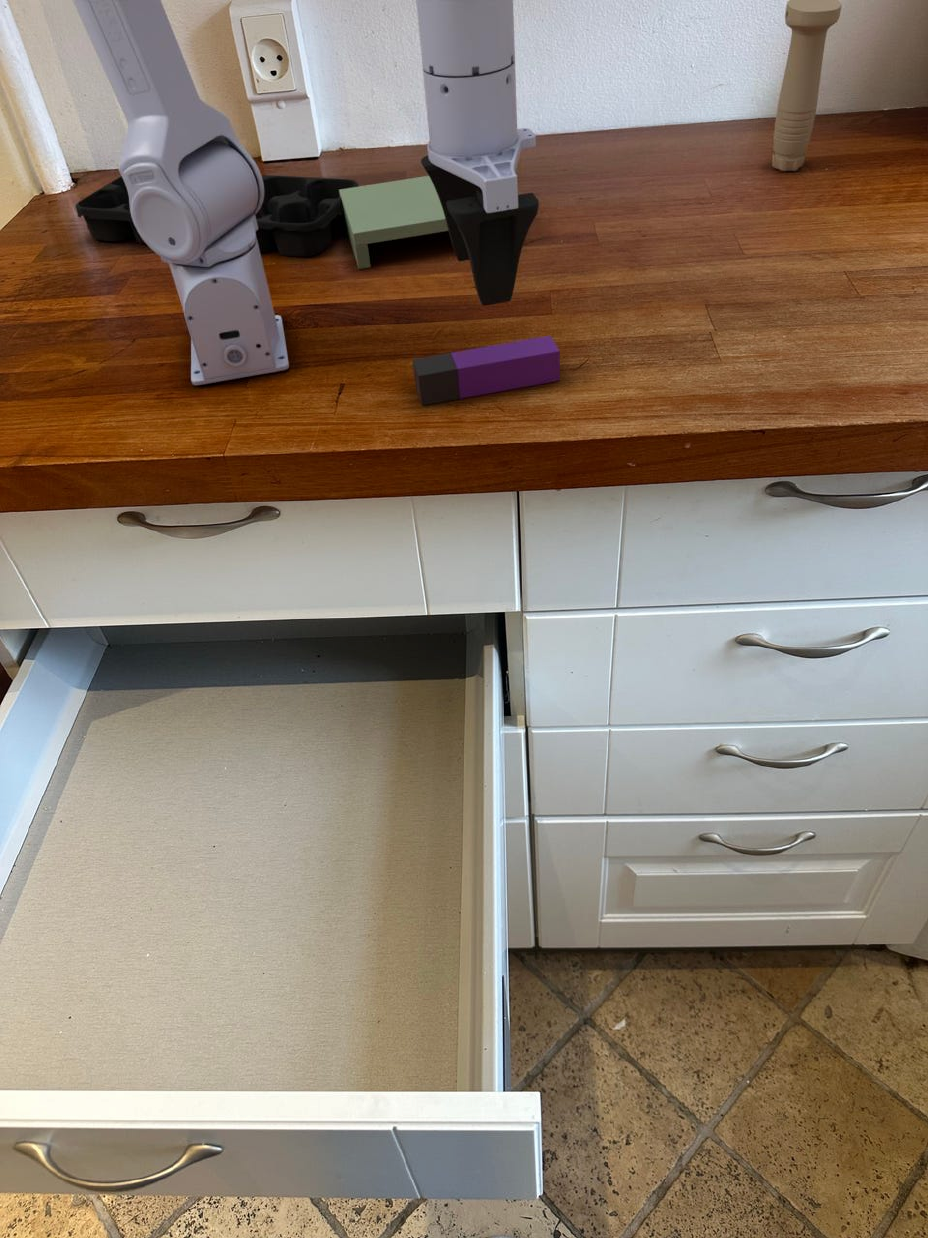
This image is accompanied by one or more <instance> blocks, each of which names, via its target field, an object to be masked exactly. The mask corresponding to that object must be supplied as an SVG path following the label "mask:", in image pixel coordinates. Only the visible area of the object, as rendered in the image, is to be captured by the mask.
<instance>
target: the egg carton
mask: <svg viewBox="0 0 928 1238" xmlns="http://www.w3.org/2000/svg"><path fill="white" fill-rule="evenodd" d="M261 176H262V179H263V183H264V199H263V203H262V206H261V208H260V210H259V211H258V212H257V213H256V214H255V216H256V221H257V225H258V230H257V231H256V232H255V233H256V239H257V241H258V246H259V250H260V254H262V253H265V252H266V253H267V252H268V251H271V250H273V249H274V248H277V251H278V253H279V254H280V255H282V256H287V257H292V258H293V257H294V258H308V257H311V256H316V255H318V254H320V253H323V251H325V250H326V249H328V247H329V246H330V245H331V244H332V239H333V238H332V235H333V234H332V232H340V231H344V230H346V225H345V219H344V209H343V204H342V199H341V198H340V194H339V190H340V189H347V188H353V187H360V186H359V183H358V182H357V181H356V180H353V179H347V178H329V177H314V176H313V177H312V176H311V177H310V176H309V177H308V176H293V175H292V176H290V175H274V174H273V175H269V174H261ZM75 210H76V213H77V217H78V218H82V217H83V219H84V222H85V223H86V228H87V230H88V232H89V233H90V236H91V238H92V239H96V240H97V241H104V242H118V241H120V242H121V241H124V240H127V239H129V238H131V237H133V236H134V237H135V240H136V242H137V243H140V244H146V243H145V242H144V240H143V239H142V238H141V236H140V234H139V233H138V231H137V229H136V227H135V225H134V222H133V220H132V217H131V212H130V203H129V195H128V191H127V187H126V185H125V182H124V180H123V178H122V176H119V177H118V178H116V179H114V180H112V181H111V182H109V183H107V184H105V185H104V186H102V187H101V188H99V189H97V190H95V191H93V192H92V193H91V194H90V195H88V196H86V197H85V198H83V199H81V200H79V201H77V203H76V204H75ZM146 245H147V244H146Z"/></svg>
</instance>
